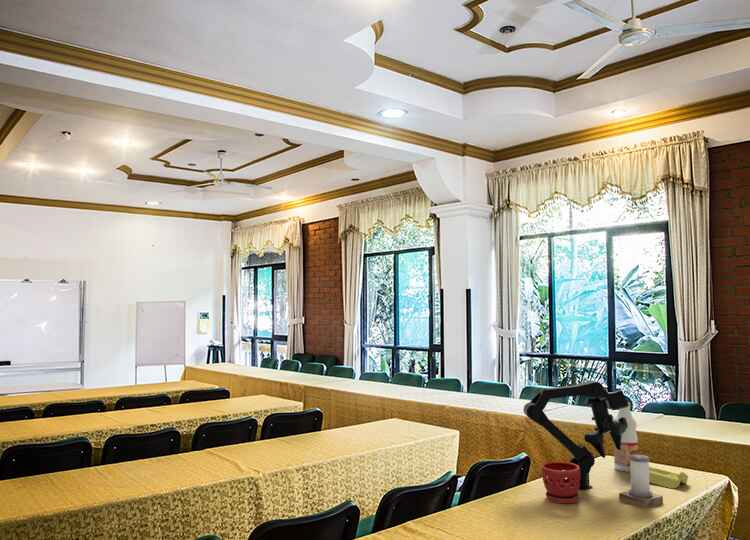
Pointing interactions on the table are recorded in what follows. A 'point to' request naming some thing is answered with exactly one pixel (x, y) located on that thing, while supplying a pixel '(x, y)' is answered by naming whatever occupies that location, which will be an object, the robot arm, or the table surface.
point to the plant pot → (561, 481)
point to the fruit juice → (626, 441)
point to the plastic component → (666, 478)
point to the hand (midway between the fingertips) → (611, 453)
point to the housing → (640, 476)
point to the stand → (641, 500)
